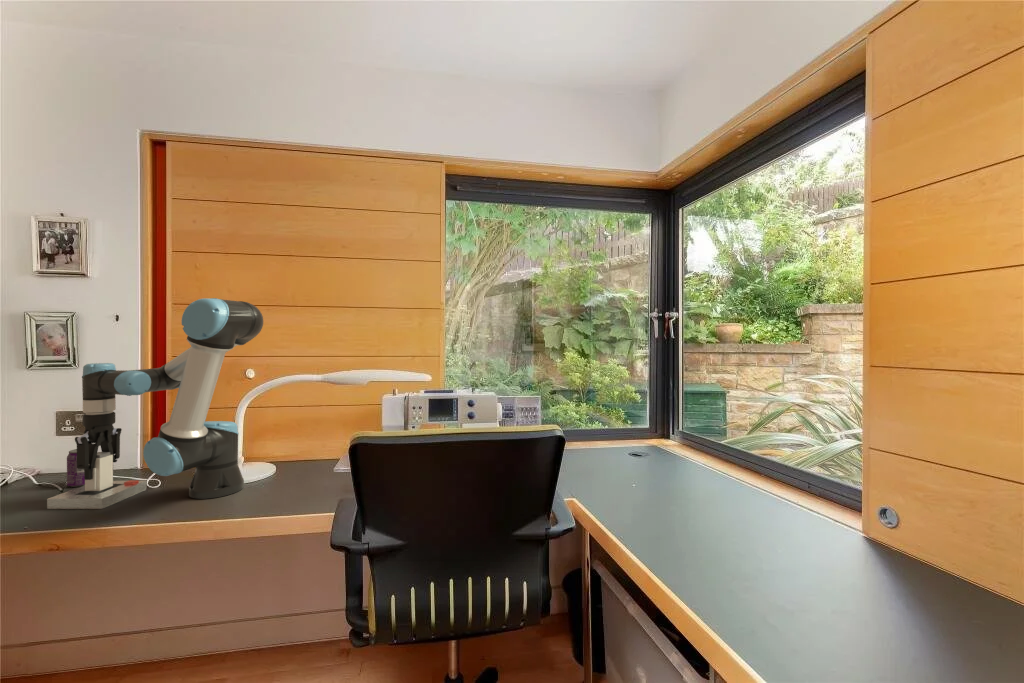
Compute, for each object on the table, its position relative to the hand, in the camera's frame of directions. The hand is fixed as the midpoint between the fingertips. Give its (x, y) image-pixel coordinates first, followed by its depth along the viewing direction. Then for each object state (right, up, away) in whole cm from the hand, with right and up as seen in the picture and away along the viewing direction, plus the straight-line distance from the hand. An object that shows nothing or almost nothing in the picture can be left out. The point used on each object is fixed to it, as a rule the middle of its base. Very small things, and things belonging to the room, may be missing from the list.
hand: (99, 486), depth 137 cm
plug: (0, -1, 0) cm, 1 cm away
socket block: (0, -4, 0) cm, 4 cm away
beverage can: (-18, -4, +13) cm, 22 cm away
